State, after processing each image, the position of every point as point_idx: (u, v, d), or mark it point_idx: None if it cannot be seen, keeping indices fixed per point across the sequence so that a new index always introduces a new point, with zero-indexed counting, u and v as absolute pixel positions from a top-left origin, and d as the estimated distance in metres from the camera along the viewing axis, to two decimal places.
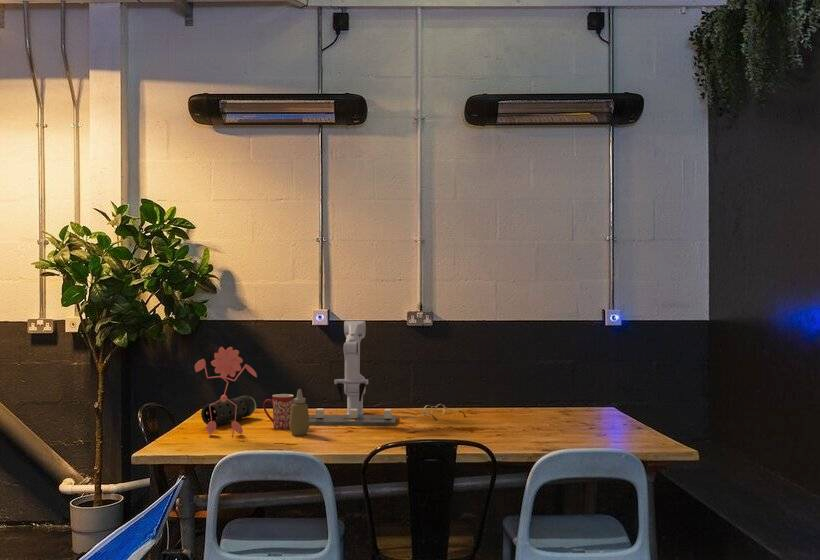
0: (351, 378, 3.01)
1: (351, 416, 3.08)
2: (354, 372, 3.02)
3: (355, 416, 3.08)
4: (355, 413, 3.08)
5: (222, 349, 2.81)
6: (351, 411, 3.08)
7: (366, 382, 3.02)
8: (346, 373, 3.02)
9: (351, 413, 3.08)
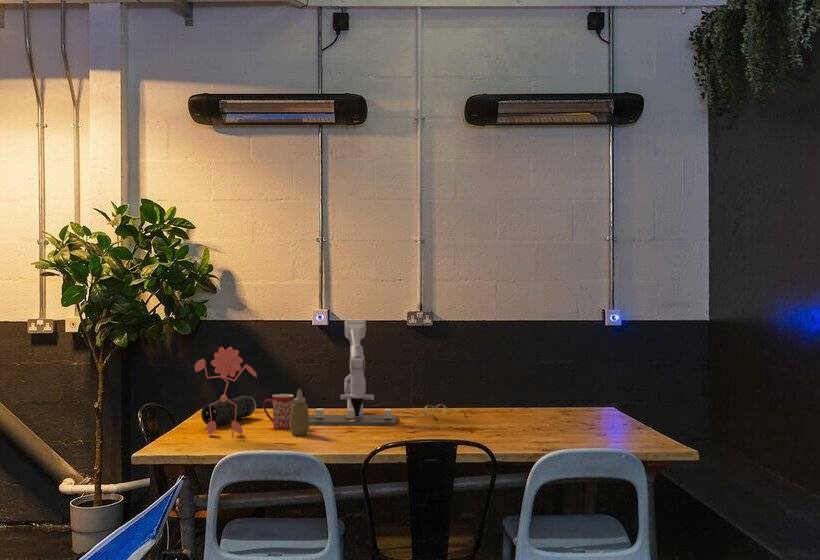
0: (357, 393, 3.07)
1: (348, 416, 3.08)
2: (360, 388, 3.08)
3: (352, 416, 3.08)
4: (352, 413, 3.08)
5: (222, 349, 2.81)
6: (348, 411, 3.08)
7: (372, 397, 3.09)
8: (352, 389, 3.08)
9: (348, 413, 3.08)
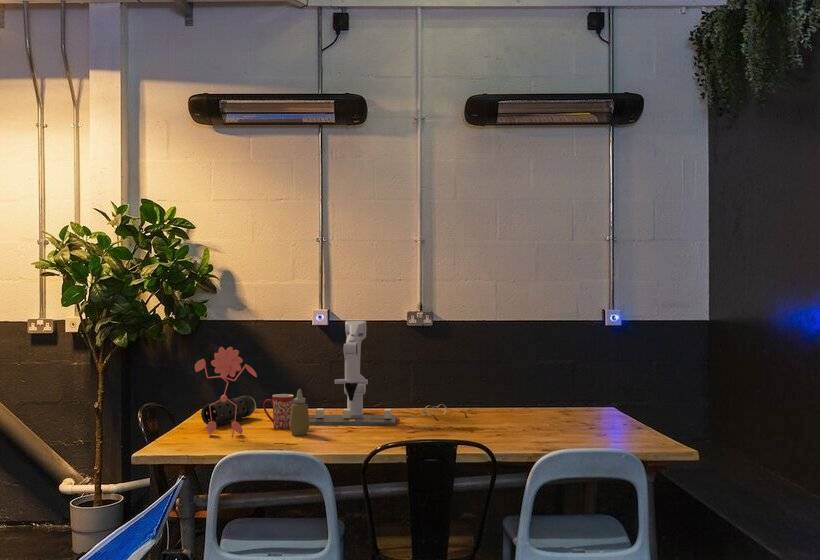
0: (351, 378, 3.07)
1: (344, 416, 3.08)
2: (354, 372, 3.08)
3: (348, 416, 3.08)
4: (348, 413, 3.08)
5: (222, 349, 2.81)
6: (344, 411, 3.08)
7: (366, 382, 3.09)
8: (346, 373, 3.08)
9: (344, 413, 3.08)
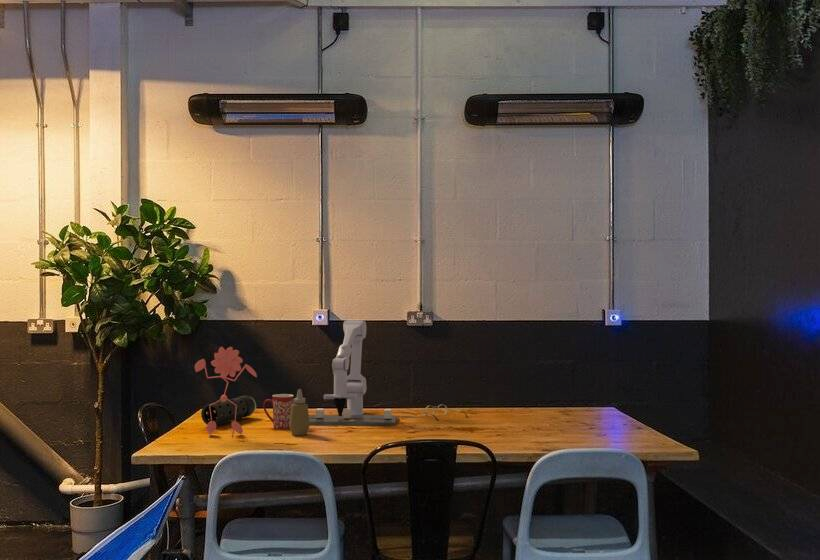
0: (340, 393, 3.07)
1: (344, 416, 3.08)
2: (343, 387, 3.08)
3: (348, 416, 3.08)
4: (348, 413, 3.08)
5: (222, 349, 2.81)
6: (344, 411, 3.08)
7: (355, 397, 3.09)
8: (335, 388, 3.08)
9: (344, 413, 3.08)
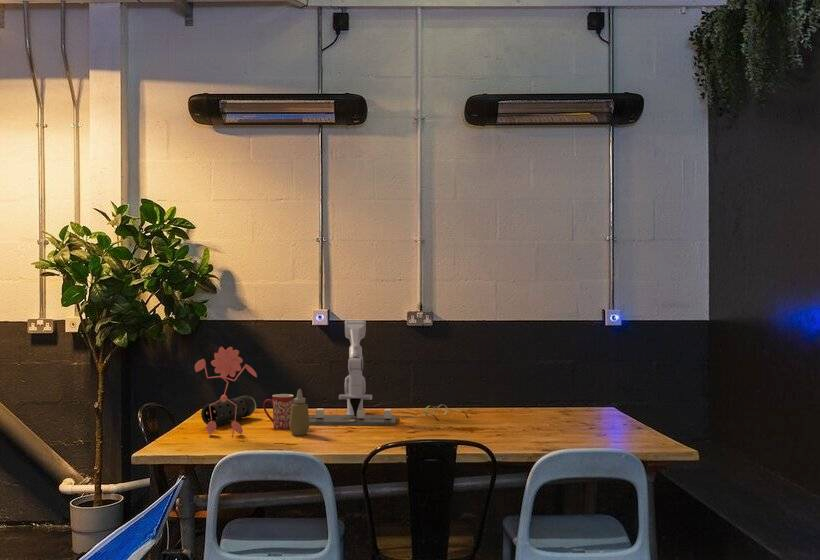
0: (355, 393, 3.07)
1: (358, 416, 3.08)
2: (358, 388, 3.08)
3: (362, 416, 3.08)
4: (362, 413, 3.08)
5: (222, 349, 2.81)
6: (358, 411, 3.08)
7: (370, 397, 3.09)
8: (350, 389, 3.08)
9: (358, 413, 3.08)
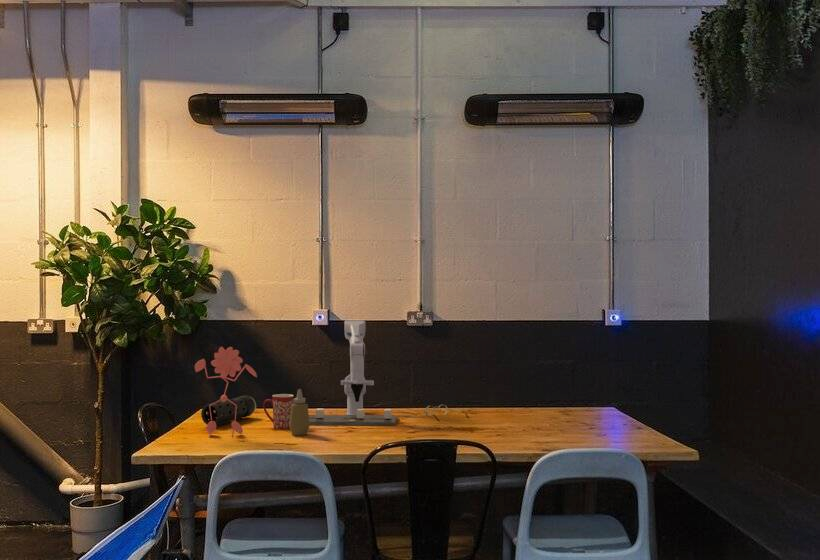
0: (357, 379, 3.07)
1: (358, 416, 3.08)
2: (360, 373, 3.08)
3: (362, 416, 3.08)
4: (362, 413, 3.08)
5: (222, 349, 2.81)
6: (358, 411, 3.08)
7: (372, 383, 3.09)
8: (352, 374, 3.08)
9: (358, 413, 3.08)
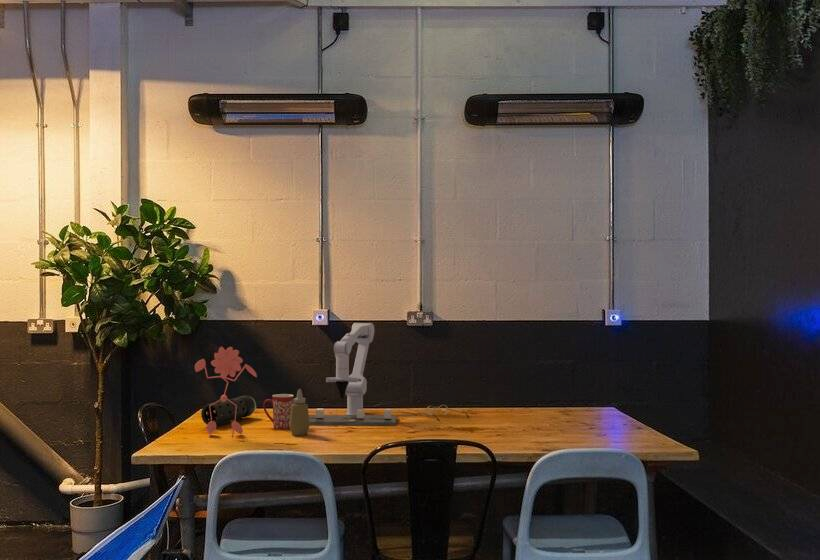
0: (342, 376, 3.14)
1: (358, 416, 3.08)
2: (345, 370, 3.14)
3: (362, 416, 3.08)
4: (362, 413, 3.08)
5: (222, 349, 2.81)
6: (358, 411, 3.08)
7: (356, 380, 3.15)
8: (337, 371, 3.14)
9: (358, 413, 3.08)
